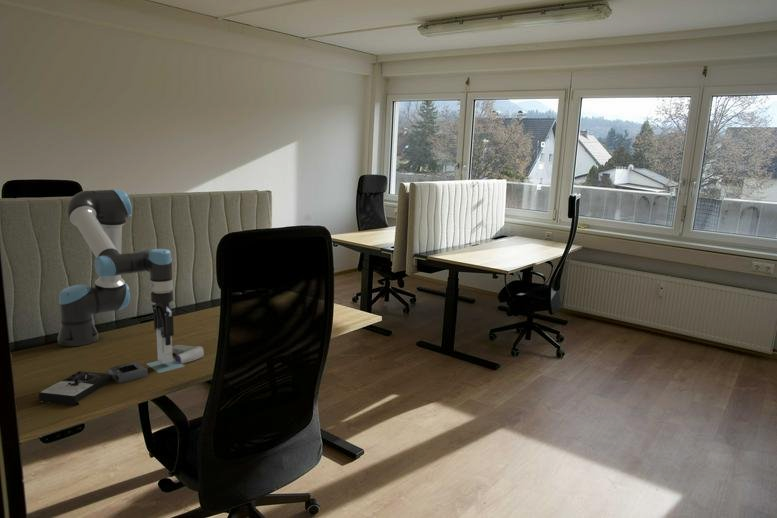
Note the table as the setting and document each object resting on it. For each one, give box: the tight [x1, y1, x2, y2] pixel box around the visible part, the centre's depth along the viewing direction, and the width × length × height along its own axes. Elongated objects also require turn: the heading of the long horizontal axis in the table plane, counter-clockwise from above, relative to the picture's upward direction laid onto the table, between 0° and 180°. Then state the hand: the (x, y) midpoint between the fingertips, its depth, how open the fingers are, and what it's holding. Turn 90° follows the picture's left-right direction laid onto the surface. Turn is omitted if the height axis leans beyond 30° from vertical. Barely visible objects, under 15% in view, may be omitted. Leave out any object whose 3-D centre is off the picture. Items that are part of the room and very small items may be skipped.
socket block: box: [108, 361, 149, 384], centre depth 202 cm, size 10×10×4 cm
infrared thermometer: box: [172, 344, 205, 364], centre depth 223 cm, size 5×12×15 cm
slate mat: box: [146, 358, 186, 374], centre depth 213 cm, size 12×10×1 cm
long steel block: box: [155, 327, 174, 364], centre depth 211 cm, size 4×4×13 cm
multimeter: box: [38, 370, 114, 407], centre depth 189 cm, size 13×19×5 cm
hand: (164, 350), depth 212 cm, fingers closed on long steel block, 4 cm apart
